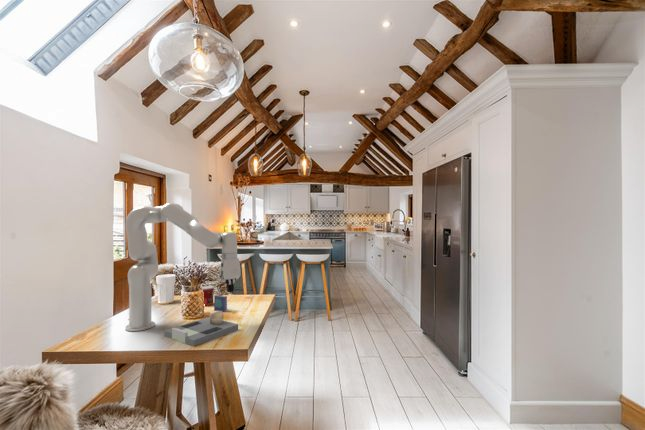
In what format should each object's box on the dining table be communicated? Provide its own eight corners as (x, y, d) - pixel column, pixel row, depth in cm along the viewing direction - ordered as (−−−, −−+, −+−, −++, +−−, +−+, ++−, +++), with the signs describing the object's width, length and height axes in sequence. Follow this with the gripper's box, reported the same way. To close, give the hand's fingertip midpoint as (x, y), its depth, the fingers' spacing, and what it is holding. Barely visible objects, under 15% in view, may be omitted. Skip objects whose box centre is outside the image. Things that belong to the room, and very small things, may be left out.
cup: (178, 300, 208) (178, 274, 208) (171, 304, 197) (171, 277, 197) (160, 300, 207) (160, 274, 207) (152, 305, 196) (152, 277, 196)
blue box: (227, 311, 182) (227, 292, 182) (224, 312, 179) (224, 293, 179) (216, 309, 186) (216, 291, 186) (212, 310, 184) (212, 292, 184)
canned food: (209, 306, 191) (209, 288, 192) (197, 306, 193) (197, 288, 193) (215, 303, 199) (215, 286, 199) (204, 302, 201) (204, 285, 201)
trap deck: (164, 335, 143) (164, 325, 143) (209, 321, 163) (209, 312, 163) (193, 346, 131) (193, 335, 131) (238, 329, 151) (238, 320, 151)
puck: (207, 323, 153) (207, 312, 153) (217, 319, 158) (217, 309, 158) (215, 325, 150) (215, 314, 150) (225, 322, 155) (225, 311, 155)
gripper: (222, 258, 153) (223, 296, 152) (245, 255, 165) (246, 289, 165) (212, 257, 157) (213, 294, 157) (236, 254, 169) (236, 288, 169)
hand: (230, 291), depth 161 cm, fingers closed
